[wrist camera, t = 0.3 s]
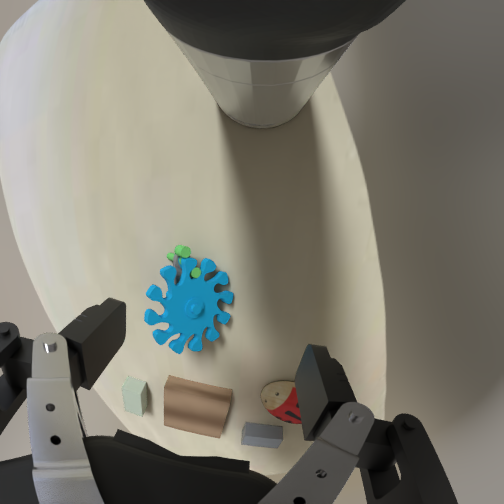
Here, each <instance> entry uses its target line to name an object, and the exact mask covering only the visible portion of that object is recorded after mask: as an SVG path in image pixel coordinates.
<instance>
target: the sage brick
mask: <svg viewBox="0 0 504 504" xmlns="http://www.w3.org/2000/svg"><path fill="white" fill-rule="evenodd" d="M122 394H123V401H124V407H125V411H127V412H130V413H133V414H136V415H139V416H142V417H143V414H144V412H145V410H146V407H147V405H148V404H147V384H146V381H143V380H140V379H137V378H134V377H131V376H128V377H127V379H126V381H125V382H124V384H123V386H122Z"/></svg>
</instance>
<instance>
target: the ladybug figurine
mask: <svg viewBox="0 0 504 504" xmlns="http://www.w3.org/2000/svg"><path fill="white" fill-rule="evenodd" d="M261 400H262V403H263V405H264V406H265V408H266V409H267V410H268V411H269V412H270V413H271V414H272V415H273V416H275V417H276V418H278V419H280V420H282V421H285V422H288V423H294V424H302V422H301V416H300V410H299V404H298V398H297V393H296V387H295V382H290V381H277V382H273V383H270V384H268V385H267V386H265V387H264V388H263V390H262V392H261Z"/></svg>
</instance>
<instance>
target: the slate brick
mask: <svg viewBox="0 0 504 504" xmlns="http://www.w3.org/2000/svg"><path fill="white" fill-rule="evenodd" d="M282 441H283V430H282V426H272V425H263V424H255V423H248V422H246V423H245V425H244V428H243V430H242V439H241V444H242V445H250V446H258V447H268V448H278V447H279V445H280V444H281V442H282Z"/></svg>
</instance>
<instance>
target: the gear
mask: <svg viewBox="0 0 504 504" xmlns="http://www.w3.org/2000/svg"><path fill="white" fill-rule="evenodd" d="M190 254H191V250H190V248H189V247H186V246H182V245H178V246H176V248H175V254H173V253H168V254H167V258H168V259H169V260H172V261H173V266H171V265H170V266H166V267H164V268H162V269H160V274H161V276H162V277H163V278H164V279H165V280H166V282H167V285H168V291H167V292H166V298H163V297H162V291H161V289H160V288H159V287H157V286H156V285H151V286H150V288H149V289H148V290H147V292H146V296H147V297H148V298H150V299H151V300H153V301H158V302H160V303H161V304H162V305H163V307H164V309H165V311H164V313H163V314H162V315H158V314H157V313H156V312H155V311H153V310H152V309H147V310H146V312H145V317H144V321H145V322H146V323H147V324H149V325H154V324H156V323H160V322H166V323H169V328H168V329H167V330H165V331H163V330H160V329H157V330H155V331H153V337H154V339H155V341H156V342H157V343H158V344H159V345H163V344H164V343H165V342H166V341H167V340H168V339H169V338H170V337H171V336H173V335H175V334H178V333H180V337H179V338H178V339H175V340H172V341H171V342H170V343H169V347H170V348H171V349H172V350H173V351H174V352H176V353H178V354H180V353H182V351H183V349H184V345H185V343H186V341H187V340H188V338H189V337H190V336H191V335H193V334H194V337H193V339H192V340H191V341H190V342H189V343H188V348H189V349H191V350H192V351H201V350H202V347H203V346H202V341H201V338H202V334H203V331H204V329H205V328H206V327H207V331H206V333H205V337H206V338H207V339H208V340H210V341H211V342H212V341H214V340H216V339H217V338H218V337H219V332H218V331H216V329H215V328H214V324H213V318H214V316H215V315H217V321H218V322H220V323H222V324H226V323H227V322H228V320H229V319H230V317H231V316H230V314H229V313H227V312H224V311H221V310H220V309H219V308H218V306H217V301H218V300H219V299H221V301H222V302H225V303H227V304H231V303H232V300H233V293H232V292H229V291H226V290H225V291H223V292H220V293H216V292H215V291H214V286H215V285H216V284H217V283H219V284H222V285H226V284H227V283H228V276H227V273H226V272H222V271H219V272H218V273H217V274H216V275H215V276H214V277H213V278H212V279H210V280H207V281H205V280H204V276H205V274H206V273H209V272H213V271H214V270H215V269H216V265H215V263H214V262H213V261H212V260H210V259H207V258H205V259H203V260H202V262H201V266H200V269H199V268H198V267H196V265H197V260H196V259H194V258H190ZM190 276H191V277H192V278H190Z"/></svg>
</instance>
